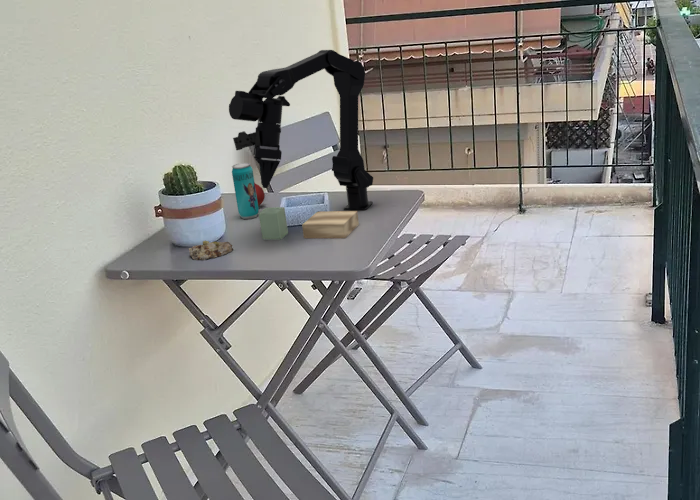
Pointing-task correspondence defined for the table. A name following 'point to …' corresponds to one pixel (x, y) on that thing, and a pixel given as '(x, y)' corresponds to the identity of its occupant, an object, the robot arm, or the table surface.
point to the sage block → (273, 223)
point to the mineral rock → (210, 250)
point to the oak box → (330, 224)
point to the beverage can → (245, 190)
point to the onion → (259, 194)
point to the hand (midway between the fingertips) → (264, 186)
